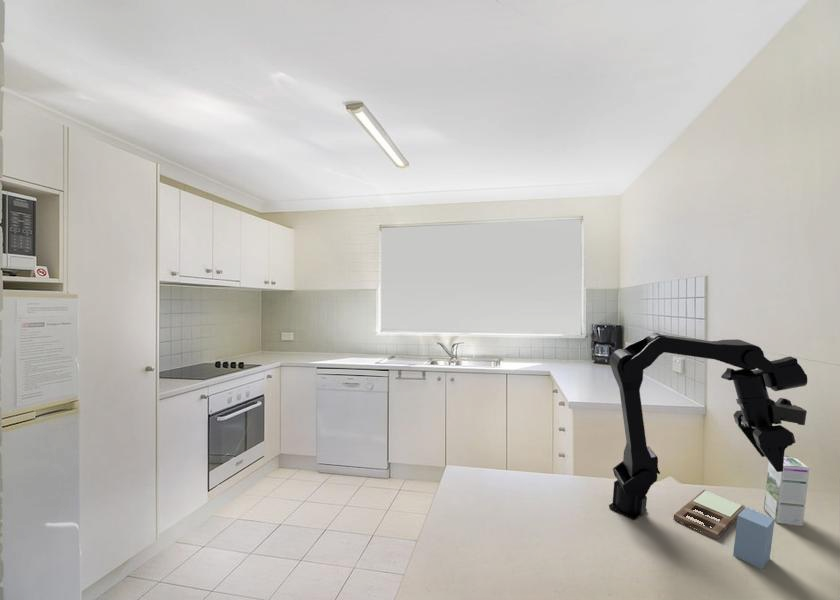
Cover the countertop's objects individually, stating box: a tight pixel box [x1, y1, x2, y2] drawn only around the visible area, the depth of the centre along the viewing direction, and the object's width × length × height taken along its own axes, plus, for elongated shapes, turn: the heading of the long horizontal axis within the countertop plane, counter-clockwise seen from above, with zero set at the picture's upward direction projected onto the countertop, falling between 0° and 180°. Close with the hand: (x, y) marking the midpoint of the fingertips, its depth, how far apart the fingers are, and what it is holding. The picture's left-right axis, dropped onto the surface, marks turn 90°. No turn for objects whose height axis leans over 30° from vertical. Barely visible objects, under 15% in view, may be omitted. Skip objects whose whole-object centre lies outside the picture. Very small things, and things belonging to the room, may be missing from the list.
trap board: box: [673, 489, 746, 540], centre depth 107 cm, size 9×18×1 cm, turn 128°
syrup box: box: [763, 455, 810, 527], centre depth 106 cm, size 6×6×14 cm
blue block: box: [732, 506, 775, 570], centre depth 92 cm, size 5×5×9 cm
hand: (771, 463), depth 100 cm, fingers open, 9 cm apart
